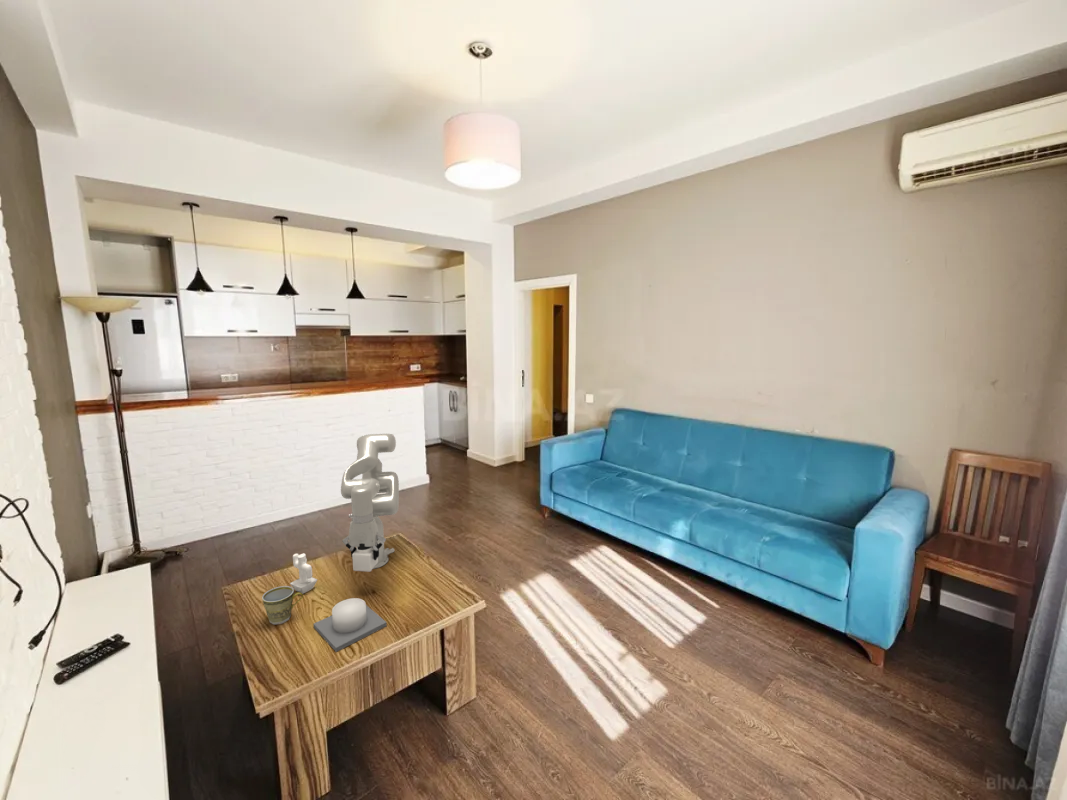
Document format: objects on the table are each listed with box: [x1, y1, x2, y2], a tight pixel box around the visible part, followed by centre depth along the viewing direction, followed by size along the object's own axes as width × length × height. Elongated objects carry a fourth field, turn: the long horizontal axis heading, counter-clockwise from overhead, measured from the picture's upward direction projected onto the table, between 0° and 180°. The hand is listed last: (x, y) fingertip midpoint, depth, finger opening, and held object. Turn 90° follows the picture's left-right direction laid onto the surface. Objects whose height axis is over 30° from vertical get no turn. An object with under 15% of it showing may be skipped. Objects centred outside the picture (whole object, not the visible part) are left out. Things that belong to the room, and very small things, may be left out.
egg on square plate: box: [313, 597, 387, 653], centre depth 159 cm, size 18×18×8 cm
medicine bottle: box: [351, 543, 378, 573], centre depth 178 cm, size 7×7×12 cm
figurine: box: [289, 552, 318, 594], centre depth 182 cm, size 7×9×15 cm
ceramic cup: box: [261, 585, 304, 626], centre depth 164 cm, size 13×10×10 cm
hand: (365, 558), depth 179 cm, fingers closed on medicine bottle, 7 cm apart
